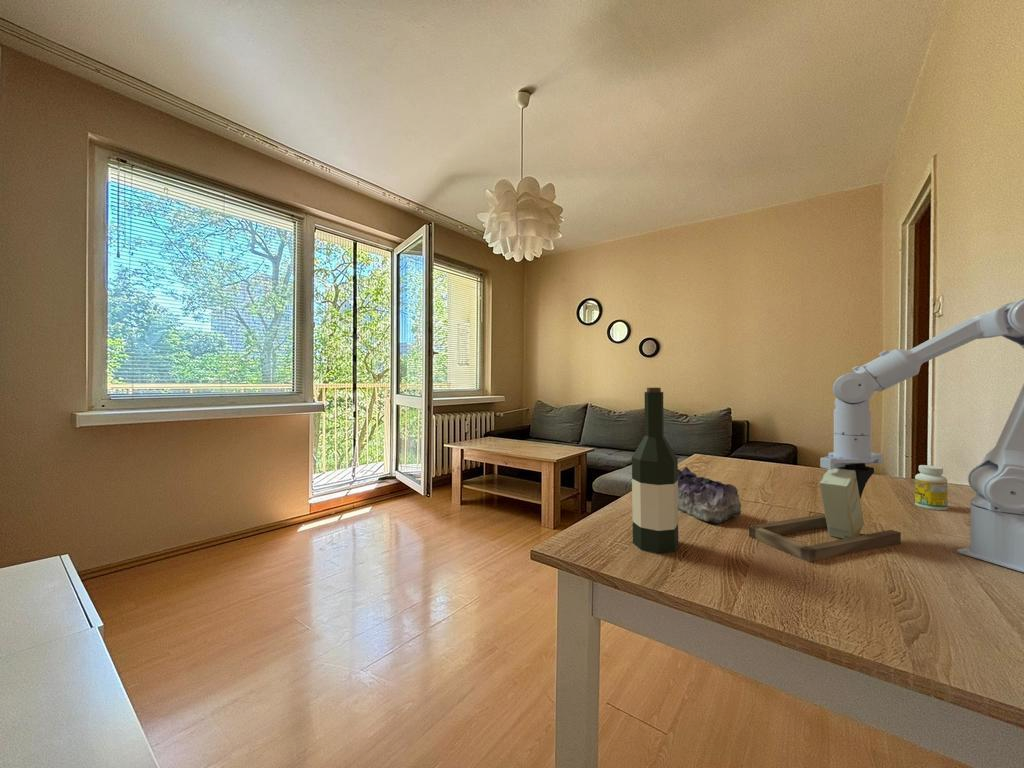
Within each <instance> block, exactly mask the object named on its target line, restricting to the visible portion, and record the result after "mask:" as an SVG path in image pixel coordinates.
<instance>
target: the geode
mask: <svg viewBox="0 0 1024 768" xmlns="http://www.w3.org/2000/svg"><path fill="white" fill-rule="evenodd" d="M738 491H739V490H738V488H737V487H736V485H733V484H731V483H728V484H726V483H722V482H721V481H718V480H713V479H710V478H706V477H704V476H697V474H696V473H695V472H692V471H691V470H690V469H689V468H688V466H685V467H684V468H683V469H682V470H680V469H679V468H678V510H680V511H682V512H683V513H686V514H687V515H688V516H690V515H691V517H694V518H696V519H699V520H702V521H704V522H709V523H710V522H712V523H713V524H715V525H719V524H721V523H723V522H725V521H727V520H728V519H730V518H733V517H737V516H739V515H741V512H742V511H741V507H742V505H741V501H740V495H739V493H738Z"/></svg>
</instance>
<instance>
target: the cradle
mask: <svg viewBox="0 0 1024 768" xmlns="http://www.w3.org/2000/svg"><path fill="white" fill-rule="evenodd" d="M819 528H827V522H826V517H825V513H822V514H815V515H809V516H804V517H803V516H802V517H797V518H792V519H791V518H790V519H785V520H778V521H772V522H766V523H761V524H754V525H749V526H748V536H749V537H750V538H752V539H755V540H757V541H759V542H761V543H763V544H766V545H769V546H771V547H773V548H775V549H778V550H780V551H781V552H782V551H783V552H785V553H787V554H790V555H792V556H794V557H796V558H799V559H800V560H803V561H806V562H808V563H811V562H817V561H822V560H826V559H831V558H834V557H835V558H836V557H840V556H845V555H850V554H851V555H852V554H855V553H861V552H864V551H869V550H873V549H878V548H883V547H888V546H893V545H897V544H901V542H902V540H901V539H902V532H900V531H897V530H894V529H887V530H882V531H877V532H876V531H875V532H872V533H868V534H866V533H865V534H862V535H859V536H856V537H850V538H845V539H843V538H839V539H835V540H831V541H826V542H821V543H816V544H815V543H814V544H810V545H805V544H803V543H801V542H799V541H795V540H793V539H790V538H788V537H785V536H783V535H787V534H792V533H798V532H803V531H808V530H815V529H819Z"/></svg>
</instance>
